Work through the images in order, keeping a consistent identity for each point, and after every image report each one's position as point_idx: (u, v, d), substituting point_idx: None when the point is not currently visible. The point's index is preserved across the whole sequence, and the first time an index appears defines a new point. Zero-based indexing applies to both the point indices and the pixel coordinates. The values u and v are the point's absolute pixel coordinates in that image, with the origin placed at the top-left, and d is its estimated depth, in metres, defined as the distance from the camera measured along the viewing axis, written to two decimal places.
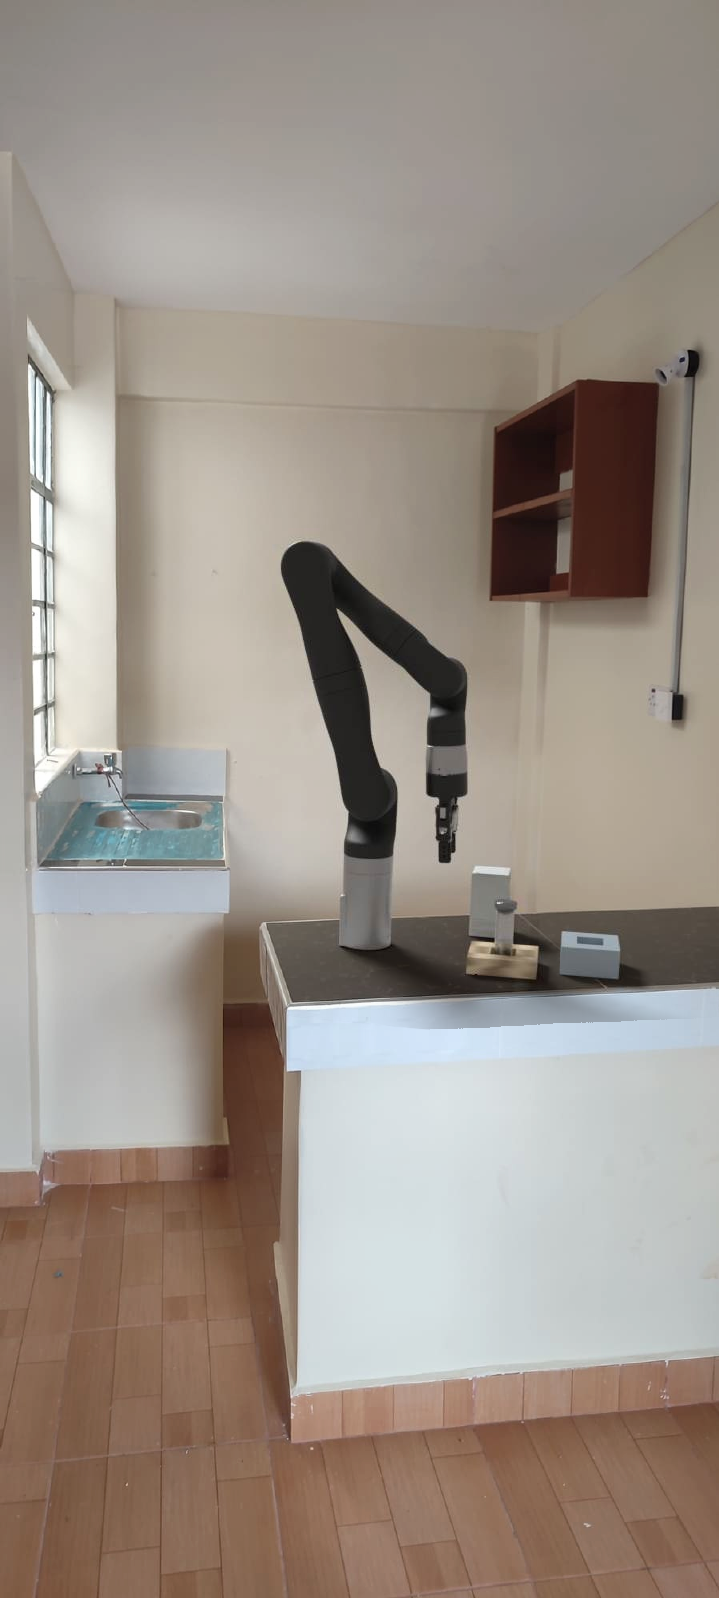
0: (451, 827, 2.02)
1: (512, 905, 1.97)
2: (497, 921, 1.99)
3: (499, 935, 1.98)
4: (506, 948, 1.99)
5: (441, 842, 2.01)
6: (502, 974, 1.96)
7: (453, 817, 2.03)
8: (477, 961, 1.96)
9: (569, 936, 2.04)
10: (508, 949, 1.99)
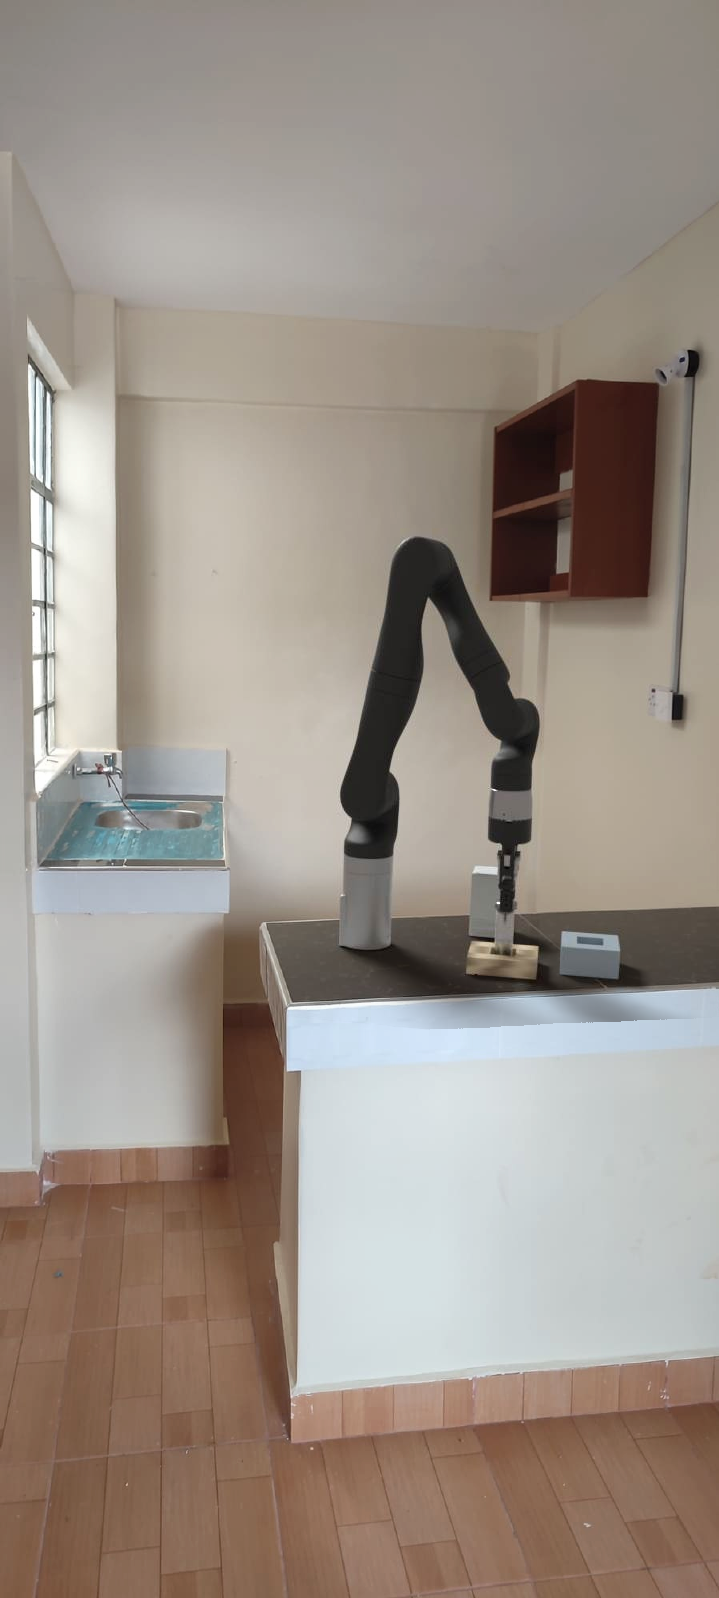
0: (514, 875, 1.94)
1: None
2: (497, 921, 1.99)
3: (499, 935, 1.98)
4: (506, 948, 1.99)
5: (503, 890, 1.93)
6: (502, 974, 1.96)
7: (516, 864, 1.95)
8: (477, 961, 1.96)
9: (569, 936, 2.04)
10: (508, 949, 1.99)
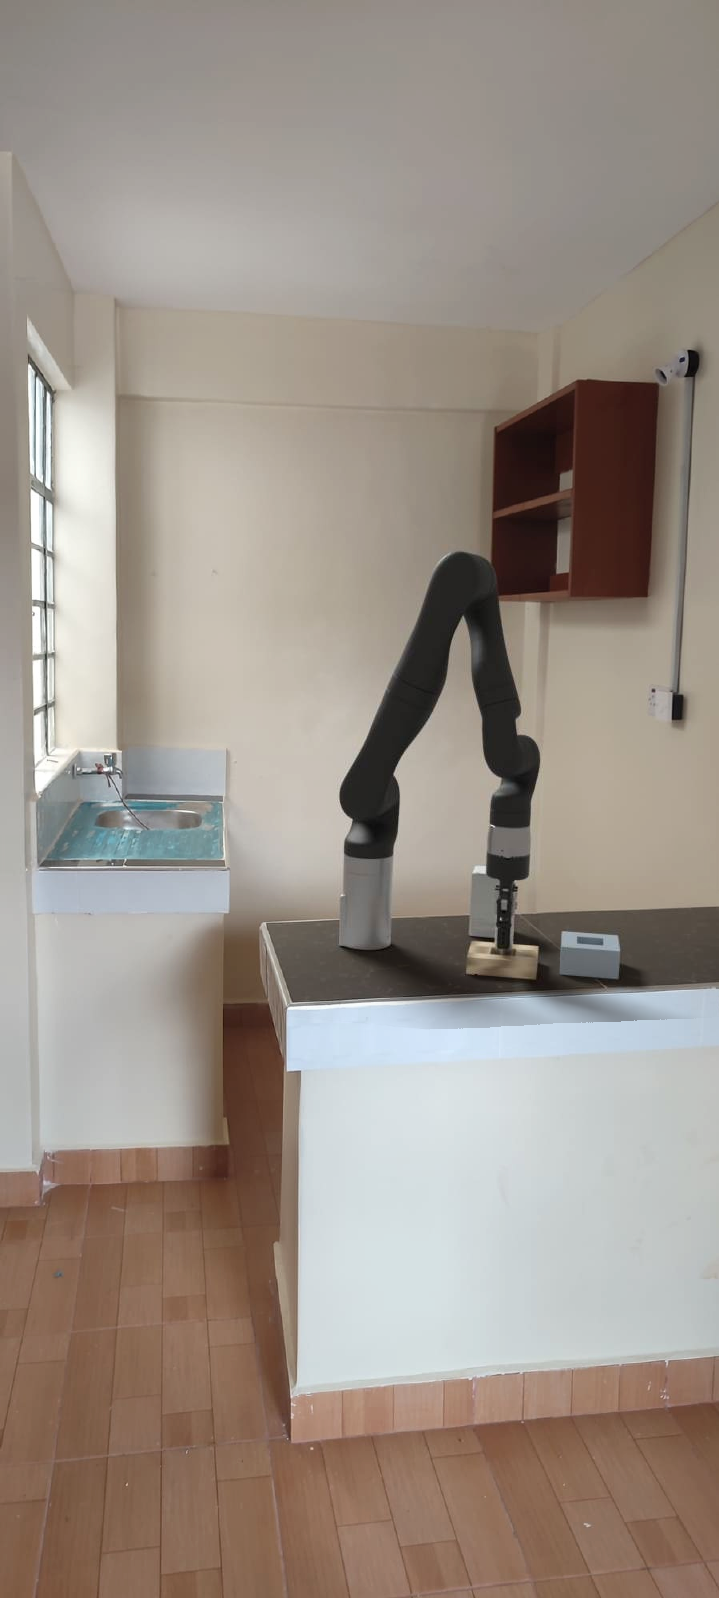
0: (511, 914, 1.96)
1: None
2: None
3: None
4: None
5: (501, 928, 1.96)
6: (502, 974, 1.96)
7: (513, 902, 1.96)
8: (477, 961, 1.96)
9: (569, 936, 2.04)
10: (508, 949, 1.99)
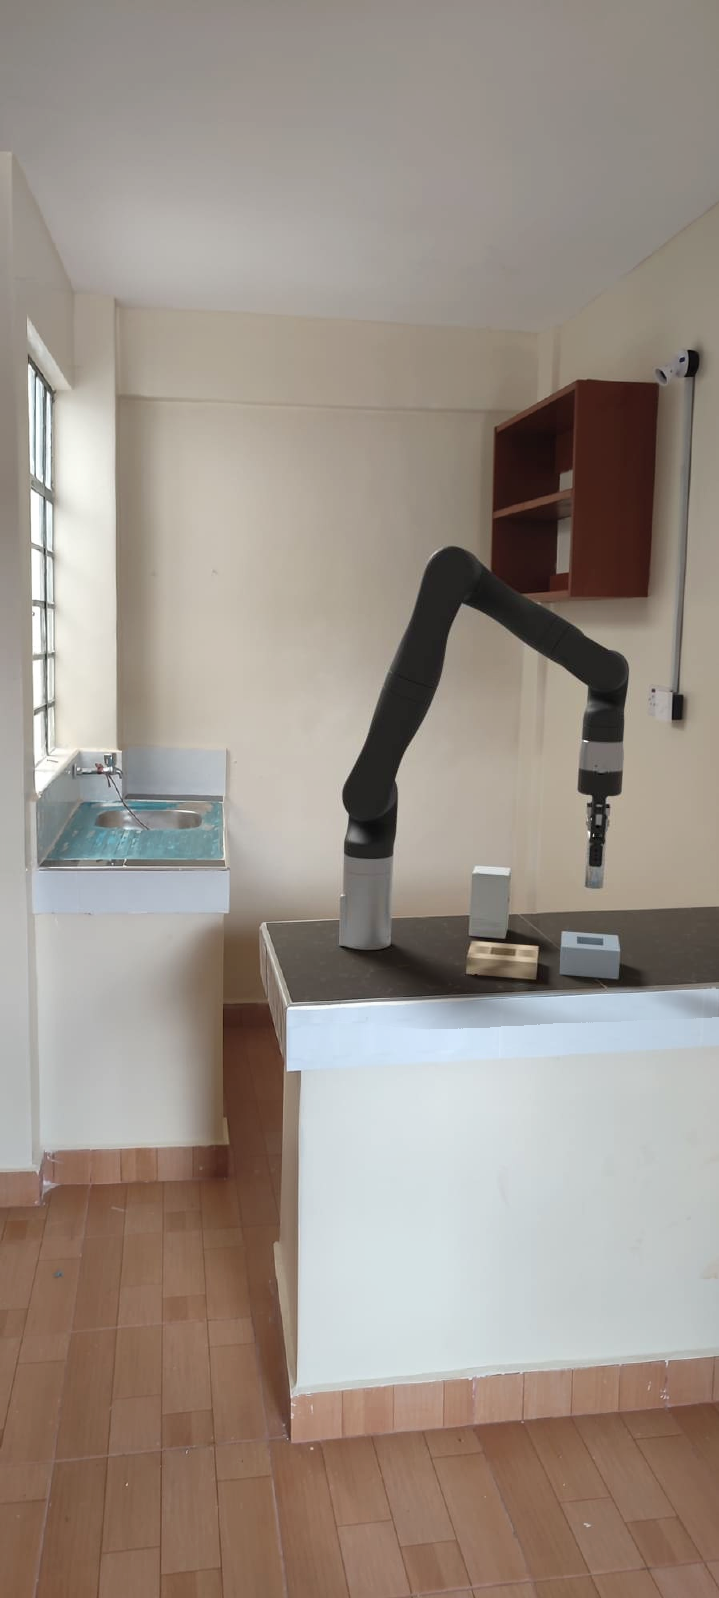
0: (604, 831, 1.95)
1: None
2: (589, 838, 1.97)
3: None
4: None
5: (594, 845, 1.95)
6: (502, 974, 1.96)
7: (606, 819, 1.95)
8: (477, 961, 1.96)
9: (569, 936, 2.04)
10: (600, 867, 1.98)
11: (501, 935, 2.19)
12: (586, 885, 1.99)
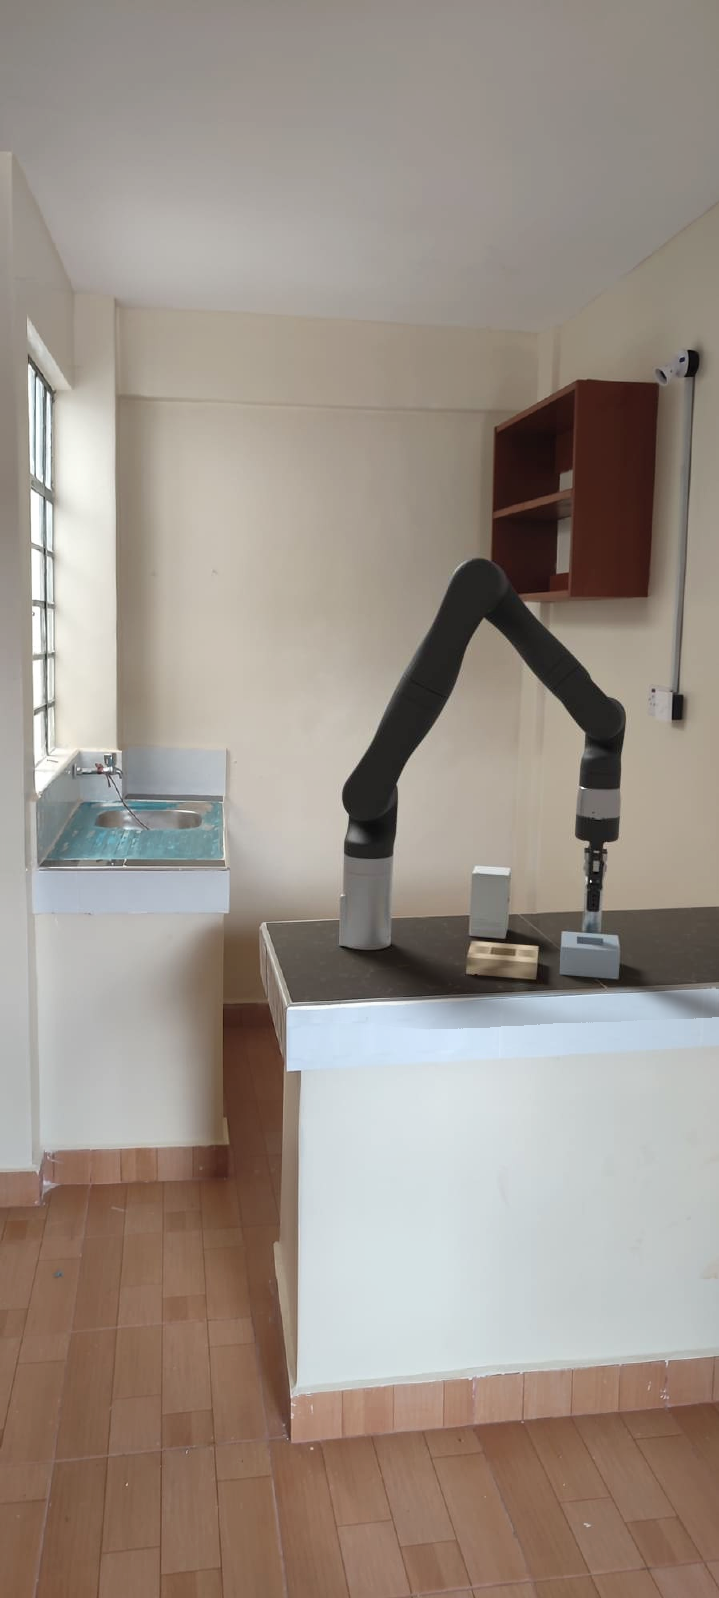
0: None
1: None
2: None
3: None
4: None
5: (591, 891, 1.97)
6: (502, 974, 1.96)
7: (604, 865, 1.97)
8: (477, 961, 1.96)
9: (569, 936, 2.04)
10: (597, 912, 1.99)
11: (501, 935, 2.19)
12: (584, 929, 2.00)
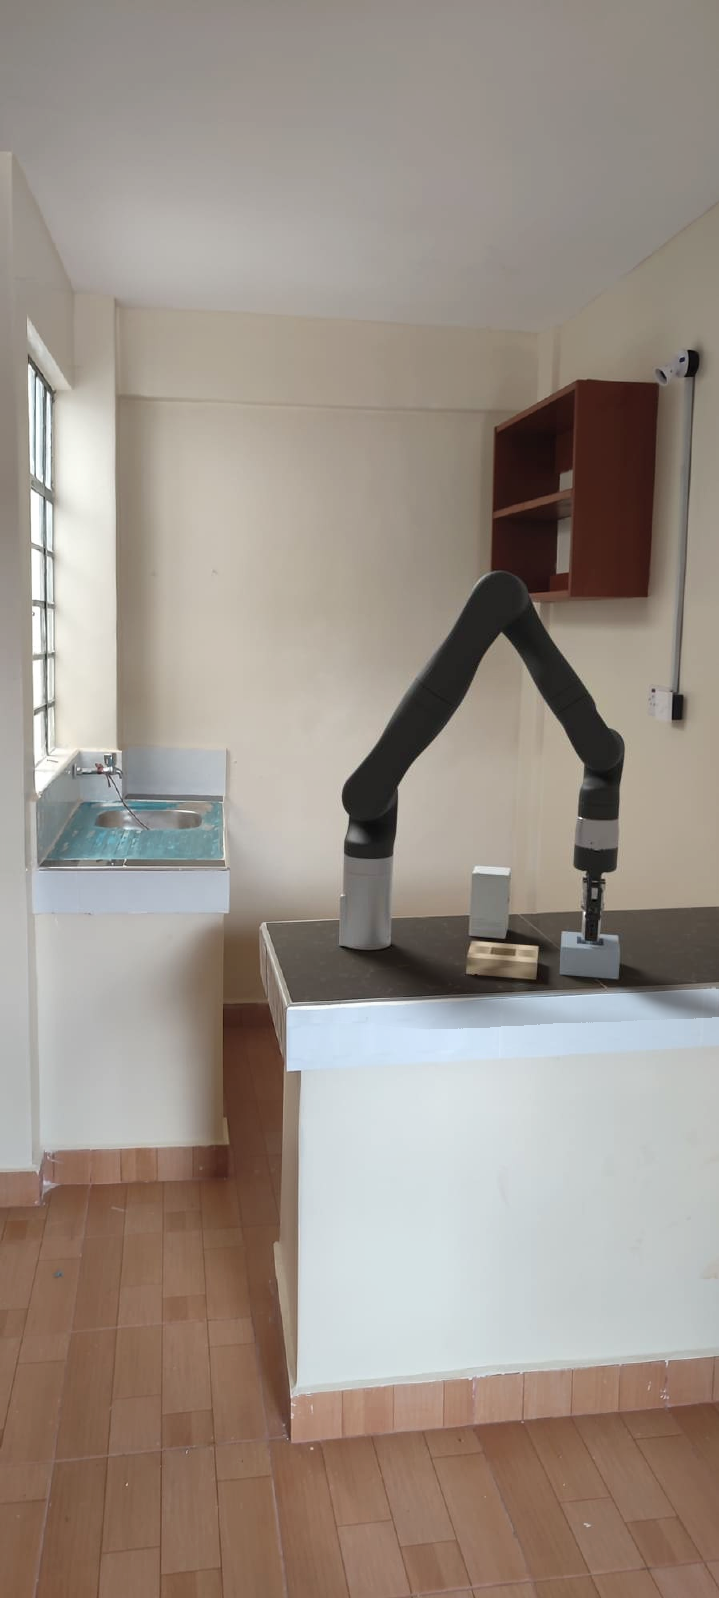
0: None
1: None
2: (584, 921, 2.00)
3: None
4: None
5: (589, 920, 1.96)
6: (502, 974, 1.96)
7: (602, 894, 1.97)
8: (477, 961, 1.96)
9: (569, 936, 2.04)
10: None
11: (501, 935, 2.19)
12: None
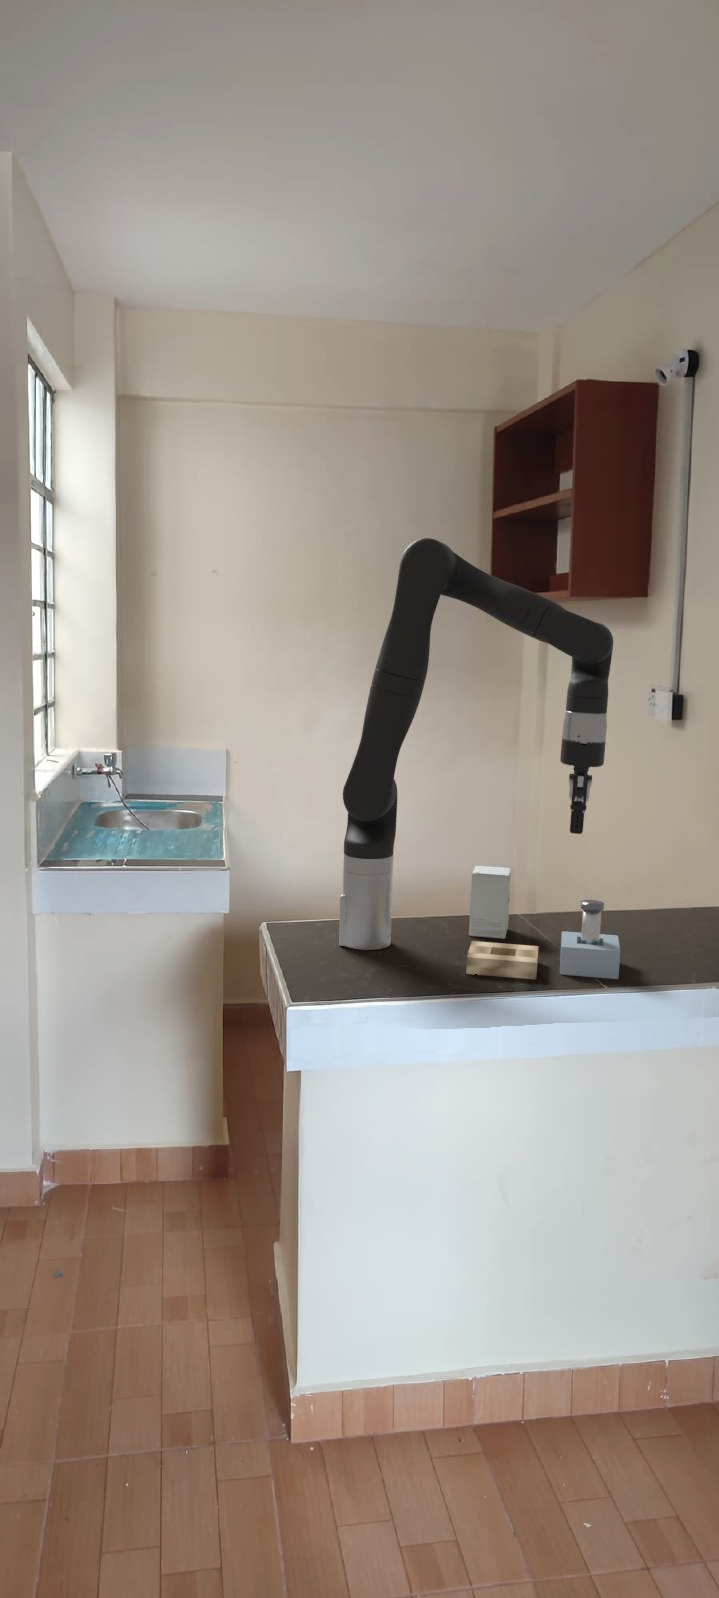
0: (586, 797, 1.96)
1: (599, 906, 1.98)
2: (584, 921, 2.00)
3: (586, 935, 2.00)
4: None
5: (575, 811, 1.95)
6: (502, 974, 1.96)
7: (588, 787, 1.96)
8: (477, 961, 1.96)
9: (569, 936, 2.04)
10: None
11: (501, 935, 2.19)
12: None
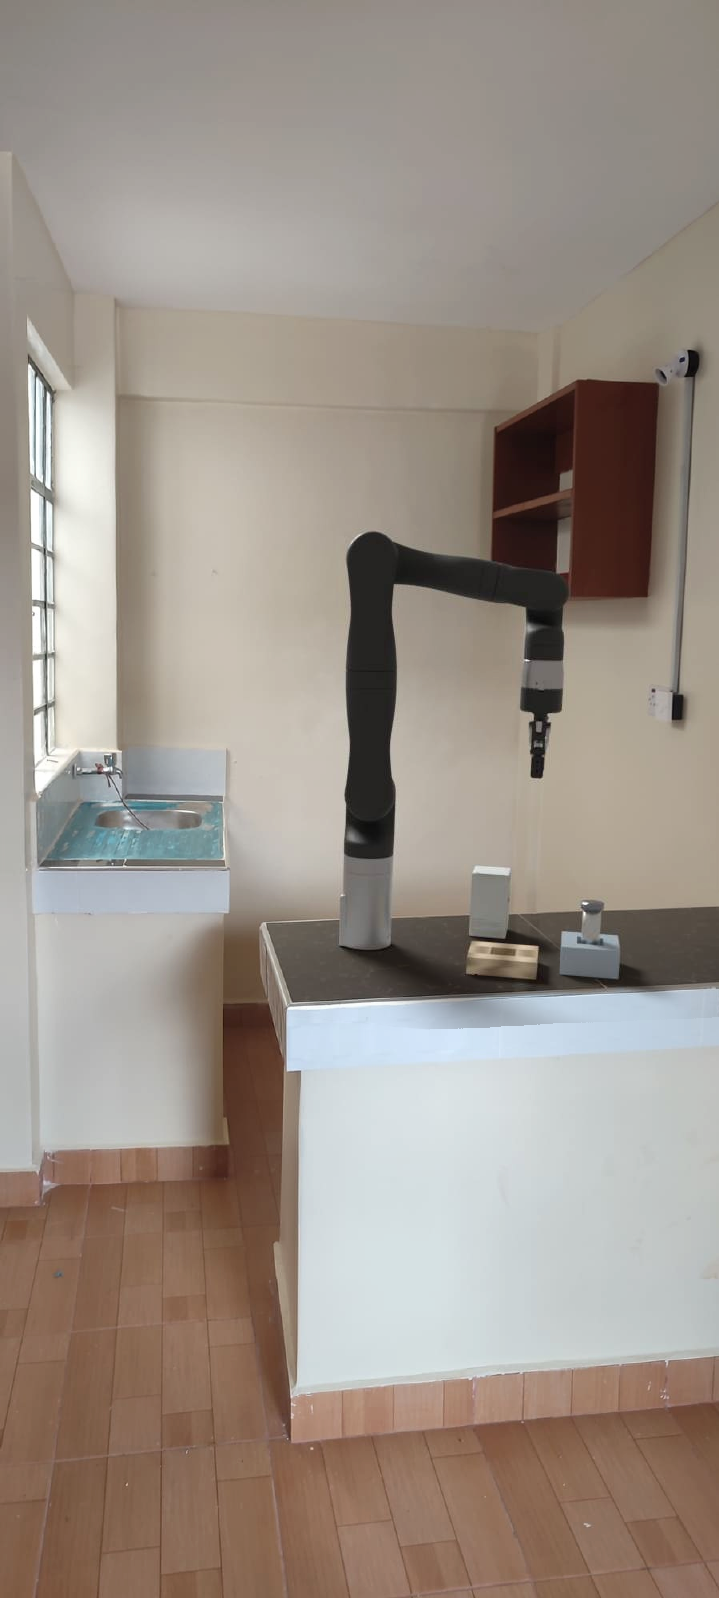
0: (545, 742, 2.01)
1: (599, 906, 1.98)
2: (584, 921, 2.00)
3: (586, 935, 2.00)
4: None
5: (535, 756, 2.00)
6: (502, 974, 1.96)
7: (547, 733, 2.02)
8: (477, 961, 1.96)
9: (569, 936, 2.04)
10: None
11: (501, 935, 2.19)
12: None
